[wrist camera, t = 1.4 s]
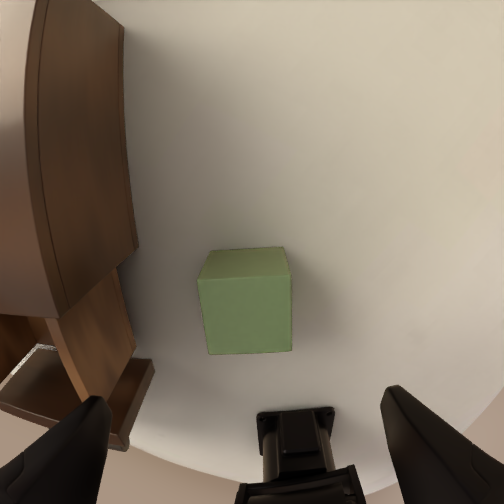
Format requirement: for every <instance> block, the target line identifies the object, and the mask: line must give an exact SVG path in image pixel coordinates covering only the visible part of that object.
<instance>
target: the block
mask: <svg viewBox="0 0 504 504" xmlns="http://www.w3.org/2000/svg"><path fill="white" fill-rule="evenodd" d="M197 286H198V292H199V299H200V305H201V312H202V318H203V324H204V330H205V336H206V342H207V347H208V353H209V354H210V355H222V354H254V353H273V352H288V351H292V283H291V273H290V269H289V265H288V262H287V258H286V255H285V251H284V248H283V247H270V248H253V249H236V250H219V251H210V253H209V255H208V257H207V259H206V261H205V263H204V266H203V268H202V270H201V272H200V274H199V277H198V279H197Z"/></svg>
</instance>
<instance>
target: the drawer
mask: <svg viewBox="0 0 504 504" xmlns="http://www.w3.org/2000/svg"><path fill="white" fill-rule="evenodd" d="M37 343H39V344H46V345H54V346H56V349H57V351H54V350H47V349H41V348H38V349H37V350H36V351H35V352H34V353H33V354H32V355H31V356H30V357H29V359H28V360H27V361H26V362H25V363H24V364H23V365H22V366H21V368H20V369H19V370H18V371H17V372H16V373H15V374H14V375H13V377H12V378H11V379H10V380H9V381H8V383H7V384H6V385H5V386H4V387H3V389H2V390H1V391H0V409H1V410H2V411H4V412H7V413H9V414H12V415H14V416H17V417H19V418H22V419H25V420H27V421H30V422H33V423H36V424H38V425H42V426H44V427H47V428H49V430H50V429H51V428H52V427H53V426H54V425H56V424H57V423H58V422H59V421H60V420H62V419H63V418H64V417H65V416H67V415H68V414H69V413H70V412H71V411H73V410H74V409H75V408H76V407H77V406H79V405H80V404H81V403H82V402H83V401H85V400H86V399H87V398H88V397H89V396H91V395H97V396H102V397H103V398H104V399H105V401H106V402H107V404H108V406H109V408H110V409H111V411H112V423H111V430H110V437H109V444H108V449H112V450H117V451H122V452H126V451H127V450H128V448H129V444H130V440H129V435H130V432H131V430H132V427H133V425H134V422H135V420H136V417H137V415H138V412H139V410H140V407H141V405H142V402H143V400H144V397H145V395H146V392H147V390H148V387H149V385H150V383H151V380H152V378H153V375H154V373H155V370H154V366H153V363H152V360H151V359H133V358H131V356H132V354H133V352H134V350H135V349H136V347H137V346H136V342H135V339H134V336H133V332H132V329H131V325H130V322H129V318H128V314H127V311H126V307H125V303H124V299H123V295H122V291H121V287H120V282H119V278H118V274H117V269H116V268H115V269H113V270H112V271H111V272H110V273H109V274H108V275H107V276H106V277H105V278H104V279H102V280H101V281H100V282H99V283H98V284H97V285H96V286H95V287H94V288H93V289H92V290H90V291H89V292H88V293H87V294H86V295H85V296H84V297H83V298H82V299H81V300H80V301H79V302H78V303H77V304H76V305H75V306H74V307H73V308H72V309H69V311H68V312H67V313H66V314H65V315H64V316H63V317H62V318H61V319H55V318H42V317H30V316H19V315H8V314H0V384H1V382H2V381H3V380H4V379H5V378H6V377H7V376H8V375H9V373H10V372H11V371H12V370H13V369H14V368H15V367H16V366H17V365H18V363H19V362H20V361H21V360H22V359H23V358H24V357H25V356H26V355H27V354H28V353H29V352H30V350H31V349H32V348H33V347H34V346H35V345H36V344H37Z"/></svg>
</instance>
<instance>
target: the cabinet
mask: <svg viewBox="0 0 504 504" xmlns="http://www.w3.org/2000/svg"><path fill="white" fill-rule="evenodd" d="M123 41H124V27H123V26H122V25H121V24H119V23H118V22H117V21H116V20H115V19H114V18H112V17H111V16H110V15H109V14H108V13H106V12H105V11H104V10H103V9H101V8H100V7H99V6H98V5H96V4H95V3H94V2H93V1H91V0H0V314H8V315H19V316H30V317H42V318H55V319H61V318H62V317H63V316H64V315H65V314H66V313H67V312H68V311H69V309H72V308H73V307H74V306H75V305H76V304H77V303H78V302H79V301H80V300H81V299H82V298H83V297H84V296H85V295H86V294H87V293H88V292H89V291H90V290H92V289H93V288H94V287H95V286H96V285H97V284H98V283H99V282H100V281H101V280H102V279H104V278H105V277H106V276H107V275H108V274H109V273H110V272H111V271H112V270H113V269H115V268H116V267H117V266H118V265H119V264H120V263H121V262H122V261H124V260H125V259H126V258H127V257H128V256H129V255H130V254H132V253H133V252H134V251H135V250H136V249H137V248H139V244H138V239H137V232H136V226H135V219H134V212H133V205H132V197H131V189H130V181H129V171H128V161H127V150H126V137H125V121H124V98H123Z"/></svg>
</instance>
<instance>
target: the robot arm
mask: <svg viewBox="0 0 504 504" xmlns="http://www.w3.org/2000/svg"><path fill="white" fill-rule="evenodd" d="M380 409H381V414H382V419H383V424H384V429H385V434H386V439H387V444H388V449H389V452H390V456H391V459H392V462H393V465H394V469H395V472H396V475H397V479H398V482H399V486H400V489H401V493H402V496H403V500H404V503H405V504H504V464H502V463H500V462H499V461H497V460H496V459H494V458H493V457H491V456H489V455H488V454H487V453H485V452H484V451H483V450H481V449H480V448H479V447H477V446H476V445H475V444H472V442H471V441H469V440H468V439H467V438H466V437H464V436H463V435H462V434H461V433H459V432H458V431H457V430H455V429H454V428H453V427H452V426H450V425H449V424H448V423H447V422H445V421H444V420H443V419H441V418H440V417H439V416H438V415H436V414H435V413H434V412H433V411H431V410H430V409H429V408H428V407H426V406H425V405H424V404H422V403H421V402H420V401H419V400H417V399H416V398H415V397H414V396H412V395H411V394H410V393H409V392H407V391H406V390H405V389H404V388H402V387H401V386H399V385H394V386H389V387H387V388H386V389H385V392H384V395H383V398H382V401H381V404H380ZM334 416H335V411H334V408H333V407H324V408H315V409H305V410H294V411H281V412H263V413H259V414H257V430H258V440H259V451H260V455H261V456H263V482H262V483H252V484H248V483H242V484H240V486H239V490H238V492H237V495H236V499H235V503H234V504H366V501H365V497H364V494H363V490H362V487H361V484H360V481H359V478H358V474H357V471H356V468H355V465H354V464H353V465H349V466H347V467H345V468H342V469H337V470H336V469H335V464H334V459H333V454H332V449H331V445H330V437H331V432H332V427H333V421H334ZM111 423H112V411H111V409H110V408H109V406H108V404H107V402H106V401H105V399H104V398H103V397H102V396H97V395H91V396H89V397H88V398H87V399H86V400H85V401H83V402H82V403H81V404H80V405H79V406H77V407H76V408H75V409H74V410H73V411H71V412H70V413H69V414H68V415H67V416H65V417H64V418H63V419H62V420H60V421H59V422H58V423H57V424H56V425H54V426H53V427H52V428H51V429H50V430H48V431H47V432H46V433H45V434H43V435H42V436H41V437H40V438H39V439H37V440H36V441H35V442H34V443H33V444H31V445H30V446H29V447H28V448H26V449H25V450H24V452H21V453H20V454H19V455H18V456H17V457H15V458H14V459H13V460H11V461H10V462H9V463H7V464H6V465H5V466H3V467H2V468H0V504H96V501H97V496H98V492H99V487H100V482H101V478H102V474H103V469H104V465H105V461H106V457H107V451H108V444H109V437H110V430H111ZM348 494H349V495H348Z"/></svg>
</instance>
